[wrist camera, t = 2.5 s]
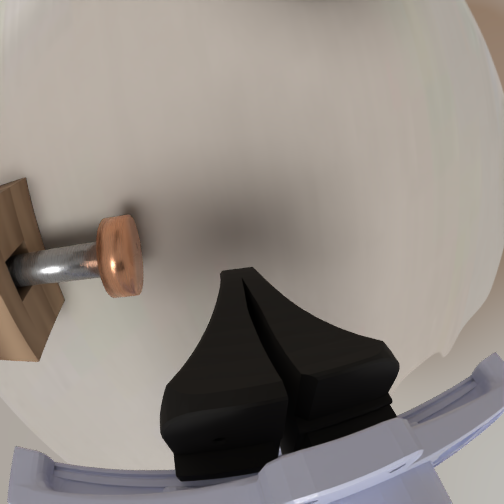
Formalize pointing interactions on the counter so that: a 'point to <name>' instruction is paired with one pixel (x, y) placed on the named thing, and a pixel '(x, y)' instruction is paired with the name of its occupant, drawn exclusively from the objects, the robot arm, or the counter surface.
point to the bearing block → (27, 297)
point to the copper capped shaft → (88, 260)
